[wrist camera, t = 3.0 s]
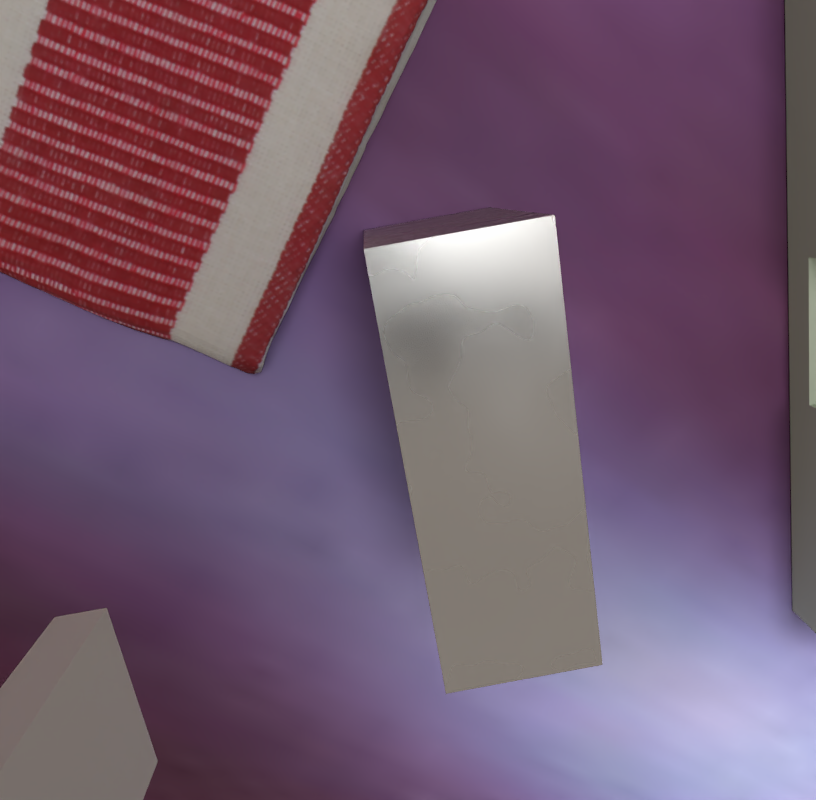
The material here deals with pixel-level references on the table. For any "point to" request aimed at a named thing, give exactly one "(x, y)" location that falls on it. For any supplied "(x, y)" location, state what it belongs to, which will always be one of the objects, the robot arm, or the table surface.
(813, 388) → the rail
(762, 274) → the table surface
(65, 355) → the table surface
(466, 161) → the table surface
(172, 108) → the dish towel
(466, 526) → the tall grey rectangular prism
